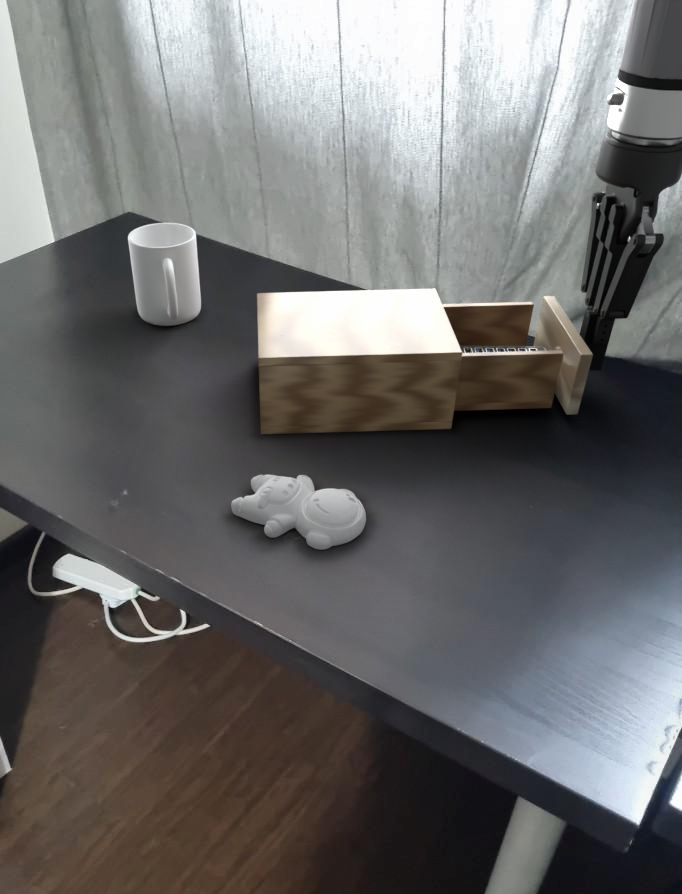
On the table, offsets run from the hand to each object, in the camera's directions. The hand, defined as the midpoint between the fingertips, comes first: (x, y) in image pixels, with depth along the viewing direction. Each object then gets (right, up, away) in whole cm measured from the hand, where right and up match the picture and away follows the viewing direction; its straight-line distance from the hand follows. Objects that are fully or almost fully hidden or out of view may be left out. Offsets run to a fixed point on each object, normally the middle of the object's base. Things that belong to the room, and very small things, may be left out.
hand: (586, 367), depth 90 cm
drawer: (-11, -2, +1) cm, 12 cm away
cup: (-47, +9, +16) cm, 51 cm away
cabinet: (-26, -3, +1) cm, 26 cm away
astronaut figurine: (-32, -17, -14) cm, 39 cm away
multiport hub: (-10, -1, 0) cm, 10 cm away
